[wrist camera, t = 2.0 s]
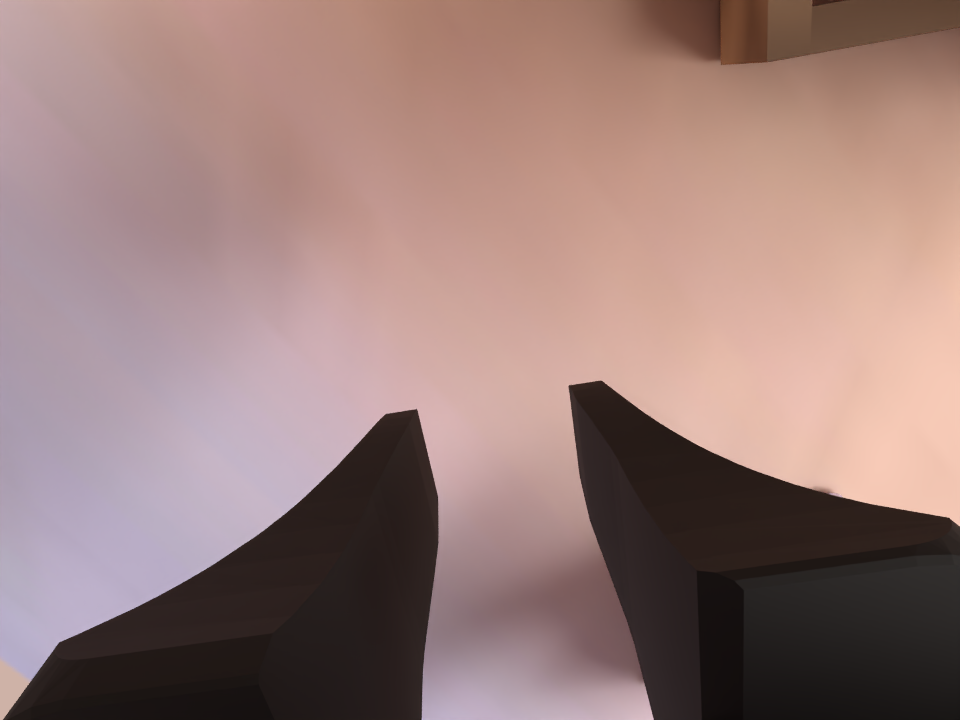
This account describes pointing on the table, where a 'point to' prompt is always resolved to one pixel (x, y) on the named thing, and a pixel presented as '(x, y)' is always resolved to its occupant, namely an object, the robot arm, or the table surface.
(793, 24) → the wooden post with crossbar
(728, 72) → the table surface
